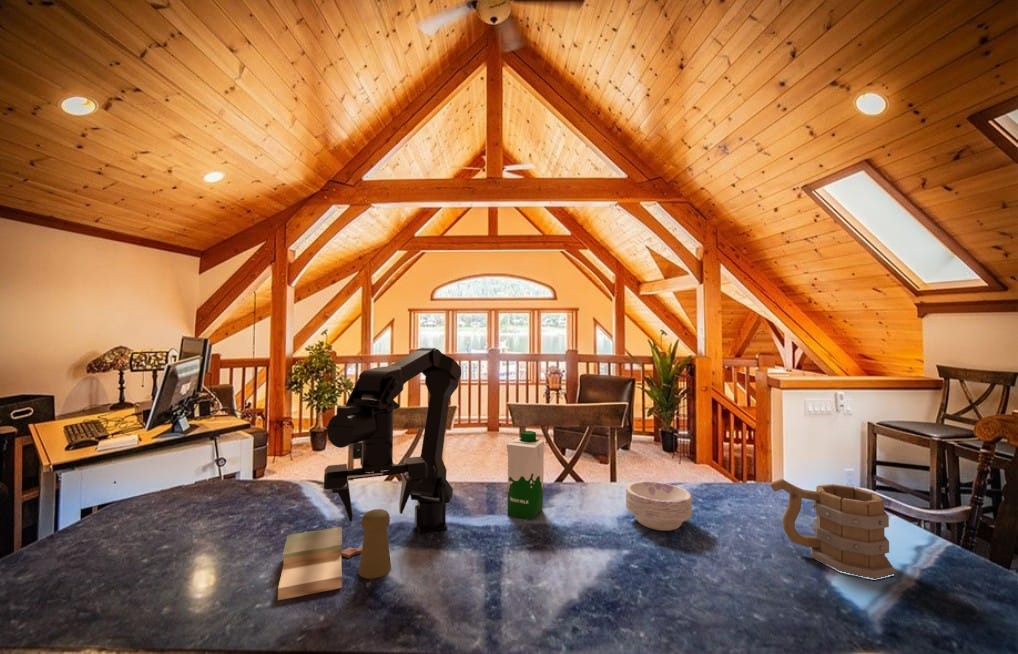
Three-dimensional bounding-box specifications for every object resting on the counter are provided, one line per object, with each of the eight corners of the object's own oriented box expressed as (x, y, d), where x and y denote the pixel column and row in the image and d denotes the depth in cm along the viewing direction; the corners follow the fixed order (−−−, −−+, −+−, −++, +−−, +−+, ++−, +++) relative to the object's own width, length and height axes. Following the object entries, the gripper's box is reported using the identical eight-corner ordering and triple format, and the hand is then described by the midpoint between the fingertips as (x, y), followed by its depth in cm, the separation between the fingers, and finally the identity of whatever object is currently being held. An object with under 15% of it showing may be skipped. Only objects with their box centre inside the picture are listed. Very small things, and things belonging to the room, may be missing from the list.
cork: (381, 580, 77) (382, 519, 78) (351, 576, 78) (353, 516, 79) (396, 563, 83) (397, 506, 83) (368, 559, 84) (370, 504, 85)
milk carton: (546, 508, 111) (547, 432, 111) (535, 522, 102) (536, 439, 103) (515, 503, 114) (516, 429, 115) (502, 516, 106) (503, 436, 106)
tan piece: (371, 541, 92) (371, 522, 92) (378, 580, 77) (378, 558, 77) (287, 555, 86) (287, 535, 86) (277, 600, 71) (277, 576, 71)
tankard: (880, 556, 88) (879, 483, 88) (901, 587, 77) (900, 504, 77) (768, 534, 97) (767, 469, 98) (772, 559, 86) (772, 485, 87)
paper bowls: (675, 510, 111) (675, 479, 111) (703, 537, 96) (703, 501, 96) (618, 510, 110) (618, 479, 111) (637, 537, 95) (637, 501, 95)
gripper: (418, 423, 93) (417, 495, 92) (326, 430, 85) (324, 508, 85) (428, 434, 82) (427, 515, 82) (324, 443, 75) (323, 531, 75)
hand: (376, 516), depth 81 cm, fingers open, 9 cm apart
